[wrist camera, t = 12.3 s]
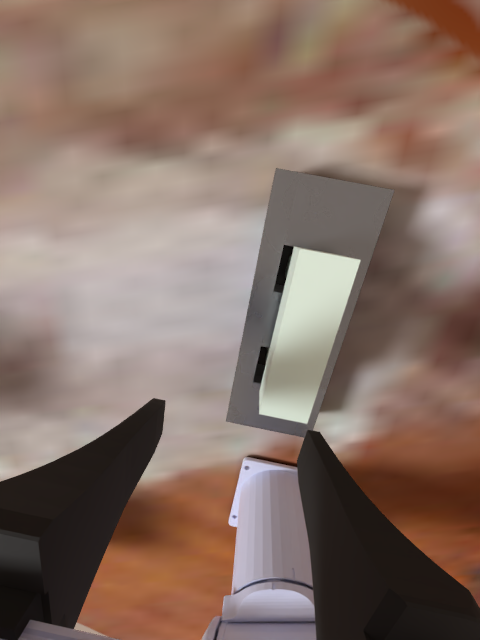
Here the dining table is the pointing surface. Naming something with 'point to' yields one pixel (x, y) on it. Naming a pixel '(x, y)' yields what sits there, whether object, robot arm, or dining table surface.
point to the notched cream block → (305, 331)
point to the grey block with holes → (293, 230)
